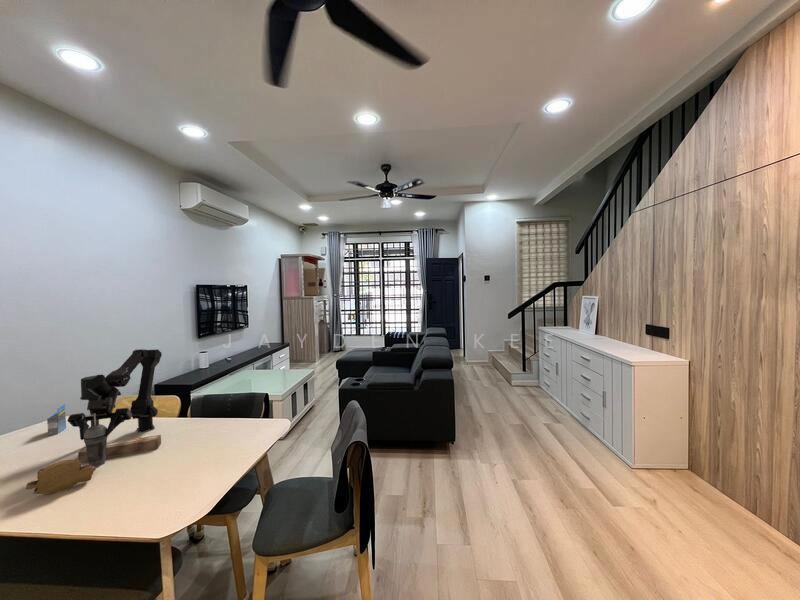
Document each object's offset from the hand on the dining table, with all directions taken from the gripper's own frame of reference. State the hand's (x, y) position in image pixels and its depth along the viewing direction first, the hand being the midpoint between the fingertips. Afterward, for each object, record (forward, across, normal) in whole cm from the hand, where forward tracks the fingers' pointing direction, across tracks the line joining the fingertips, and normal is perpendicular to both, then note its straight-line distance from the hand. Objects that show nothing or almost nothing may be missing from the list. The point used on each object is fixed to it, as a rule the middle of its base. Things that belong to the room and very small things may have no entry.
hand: (94, 437), depth 125 cm
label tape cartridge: (-28, -36, +44) cm, 63 cm away
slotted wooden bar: (+1, +5, +15) cm, 16 cm away
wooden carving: (+19, -2, -3) cm, 19 cm away
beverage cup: (+7, 0, +9) cm, 11 cm away
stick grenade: (-10, -10, +26) cm, 30 cm away
